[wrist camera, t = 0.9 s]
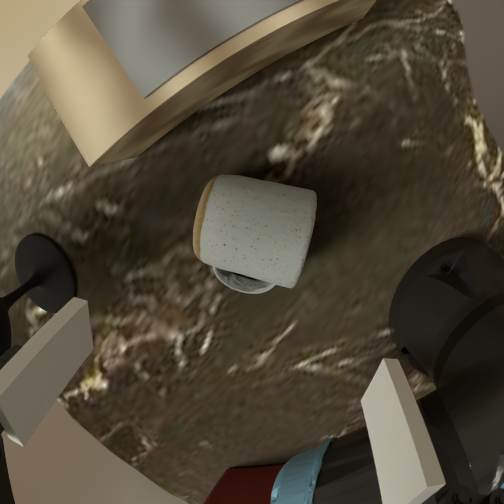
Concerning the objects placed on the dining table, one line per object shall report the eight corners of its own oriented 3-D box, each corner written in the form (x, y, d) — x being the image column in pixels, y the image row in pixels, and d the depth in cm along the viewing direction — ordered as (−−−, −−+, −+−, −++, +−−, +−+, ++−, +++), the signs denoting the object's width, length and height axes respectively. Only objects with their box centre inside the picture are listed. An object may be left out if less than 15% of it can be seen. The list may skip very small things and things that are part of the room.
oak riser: (284, -66, 17) (284, -115, 10) (362, 18, 20) (391, -20, 13) (79, 67, 23) (25, 55, 16) (136, 157, 26) (87, 167, 19)
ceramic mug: (218, 165, 26) (195, 178, 19) (313, 184, 26) (325, 204, 19) (202, 276, 30) (180, 320, 23) (286, 292, 30) (287, 341, 23)
